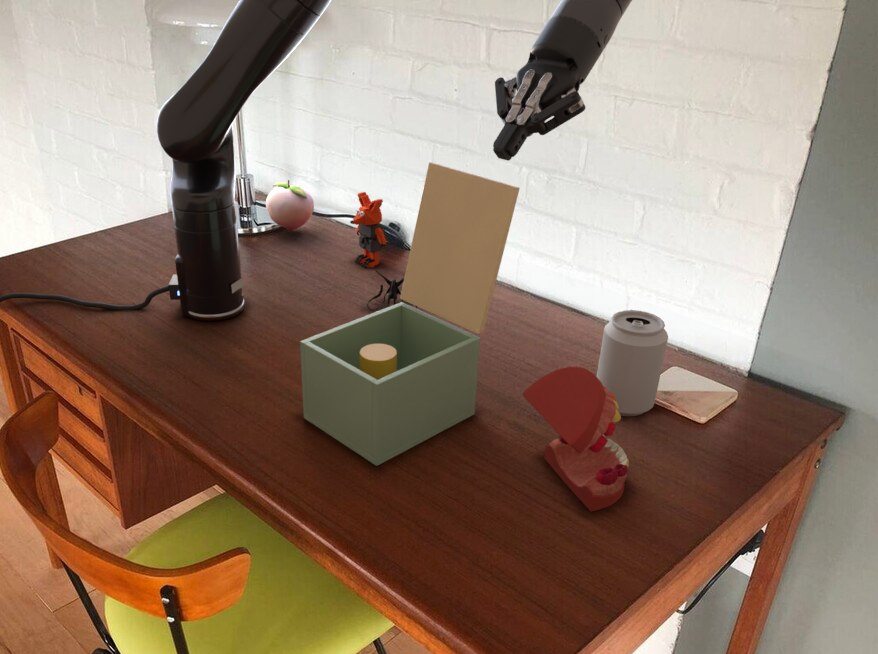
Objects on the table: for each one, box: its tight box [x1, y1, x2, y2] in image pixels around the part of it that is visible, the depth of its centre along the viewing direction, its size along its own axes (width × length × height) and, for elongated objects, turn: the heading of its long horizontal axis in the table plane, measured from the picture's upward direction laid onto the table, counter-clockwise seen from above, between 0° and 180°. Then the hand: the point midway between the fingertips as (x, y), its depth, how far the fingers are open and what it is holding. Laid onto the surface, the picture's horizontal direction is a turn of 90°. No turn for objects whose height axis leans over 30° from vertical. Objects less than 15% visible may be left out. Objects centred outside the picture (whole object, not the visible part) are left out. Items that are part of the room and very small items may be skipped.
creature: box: [366, 269, 418, 311], centre depth 130 cm, size 8×5×8 cm
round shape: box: [360, 344, 397, 380], centre depth 100 cm, size 4×4×9 cm
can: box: [596, 309, 669, 417], centre depth 103 cm, size 8×8×12 cm
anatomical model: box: [522, 366, 630, 513], centre depth 89 cm, size 10×8×15 cm
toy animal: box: [349, 191, 387, 268], centre depth 144 cm, size 8×6×12 cm
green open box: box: [299, 301, 481, 467], centre depth 101 cm, size 17×14×11 cm
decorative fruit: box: [265, 179, 315, 232], centre depth 159 cm, size 9×8×10 cm
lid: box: [399, 161, 520, 335], centre depth 100 cm, size 17×14×1 cm
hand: (500, 155), depth 99 cm, fingers closed
